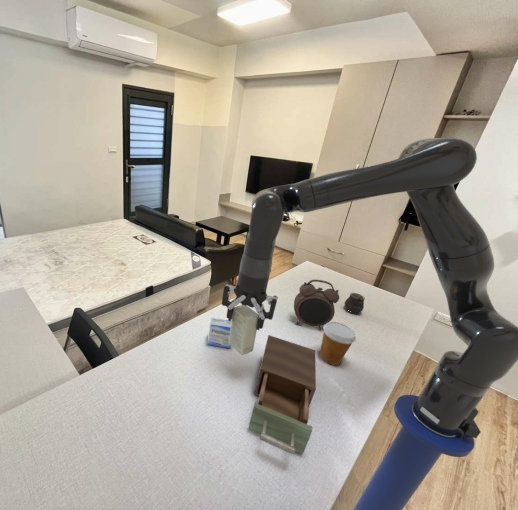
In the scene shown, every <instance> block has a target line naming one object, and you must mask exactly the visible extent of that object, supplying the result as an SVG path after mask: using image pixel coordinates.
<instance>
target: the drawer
mask: <svg viewBox="0 0 518 510" xmlns="http://www.w3.org/2000/svg"><path fill="white" fill-rule="evenodd" d="M308 398H309V389H307V388H305V387H302V386H299V385H297V384H294V383H291V382H289V381H286V380H283V379H281V378H278V377H275V376H273V375H270V374H267V373H264V377H263V381H262V385H261V389H260V393H259V397H258V399H257V402H254V404H253V408H252V412H251V415H250V419H249V423H248V427H247V430H248V431H251V432H252V433H255V434H258V435H259V436H260V437H259V440H260V441H263V442H265V443H266V444H267V443H268V444H269V445H272V446H274V447H275V448H278V449H280V450H283V452H287V453H288V454H291V455H295V452H297V453H299V454H300V455H304V454H305V453H304V452H305V450H306V448H307V446H308V443H309V441H310V438H311V435H312V432H313V426H311V425H309V424H308V422H309V409H308Z"/></svg>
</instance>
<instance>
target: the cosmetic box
mask: <svg viewBox="0 0 518 510" xmlns="http://www.w3.org/2000/svg"><path fill="white" fill-rule="evenodd" d="M259 317H260V316H259V314H258V313H257V311H256V310H255V311H254V310H253V309H252V308H251V307H249V306H247V305H242V304H241V305H237V306H235V307H234V308H233V314H232V319H231V328H230V335H229V342H228V343H229V344H230V345H231V346H230V347H232V348H233V349H234V350H235V351H236V352H237V353H238V354H239V355H240V356H244V355H247V354H249V353H251V352H253V351H254V347H255V341H256V337H257V331H258V330H257V325H258V321H259Z"/></svg>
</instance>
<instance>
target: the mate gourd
mask: <svg viewBox="0 0 518 510" xmlns="http://www.w3.org/2000/svg"><path fill="white" fill-rule="evenodd" d="M365 299H366V298H365V296H364V295H362V294H360V293H357V292H350V294H349V296H348V298H346V299H345V300H344V309H345V308H346V309H345V310H346V311H347V312H348V313H349V314H353V315H356V314H358V315H359V314H361V313H362V312H363V310H364V308H365V307H364V306H365V305H364V304H365V302H364V301H365ZM348 310H349V311H348ZM350 311H351V312H350Z"/></svg>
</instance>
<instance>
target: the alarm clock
mask: <svg viewBox="0 0 518 510" xmlns="http://www.w3.org/2000/svg"><path fill="white" fill-rule="evenodd" d="M316 282H318V283H322V284H326V285H329V286H330V287H331V288H327V289H325V290H324V288H323V287H317V288H316V287H315V286H314V284H312V283H316ZM339 292H340V290H339V289H336V290H335V288H334V285H333V284H332V283H331V282H329V281H326V280H322V279H311V280H309V281H308V282H307V281H305V282H304V283H303V284H301V286H300V287H299V293H297V295H296V296H295V297H294V301H293V310H294V314H295V316H296V318H297V319H298V320H297V321H296V322H295V324H297V325H298V324H299V323H302V324H304V325H306V326H309V327H318V328H319V329H318V330H319V331H321V330H322V328H321V327H322V326H324V325H326V324H327V323H328V322H332V320H333V318H334V317H335V311H336V309H335V305H334V304H337V303H338V302H339V301H340V295H339Z"/></svg>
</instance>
